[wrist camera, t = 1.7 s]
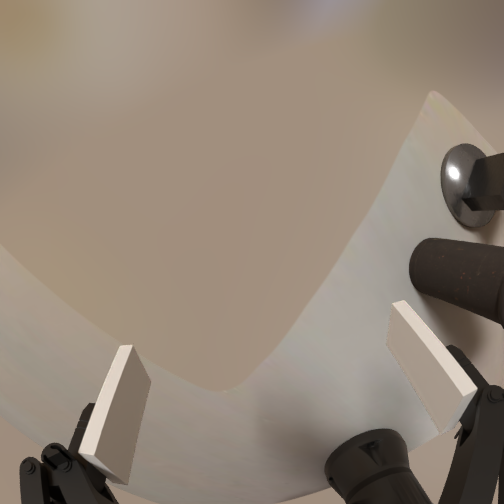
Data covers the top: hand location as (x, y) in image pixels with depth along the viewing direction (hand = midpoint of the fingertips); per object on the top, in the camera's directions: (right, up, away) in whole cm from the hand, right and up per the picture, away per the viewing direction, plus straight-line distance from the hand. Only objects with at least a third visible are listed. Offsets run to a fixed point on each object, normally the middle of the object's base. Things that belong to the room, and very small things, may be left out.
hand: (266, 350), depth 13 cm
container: (+25, +3, +22) cm, 34 cm away
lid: (+33, +15, +21) cm, 42 cm away
